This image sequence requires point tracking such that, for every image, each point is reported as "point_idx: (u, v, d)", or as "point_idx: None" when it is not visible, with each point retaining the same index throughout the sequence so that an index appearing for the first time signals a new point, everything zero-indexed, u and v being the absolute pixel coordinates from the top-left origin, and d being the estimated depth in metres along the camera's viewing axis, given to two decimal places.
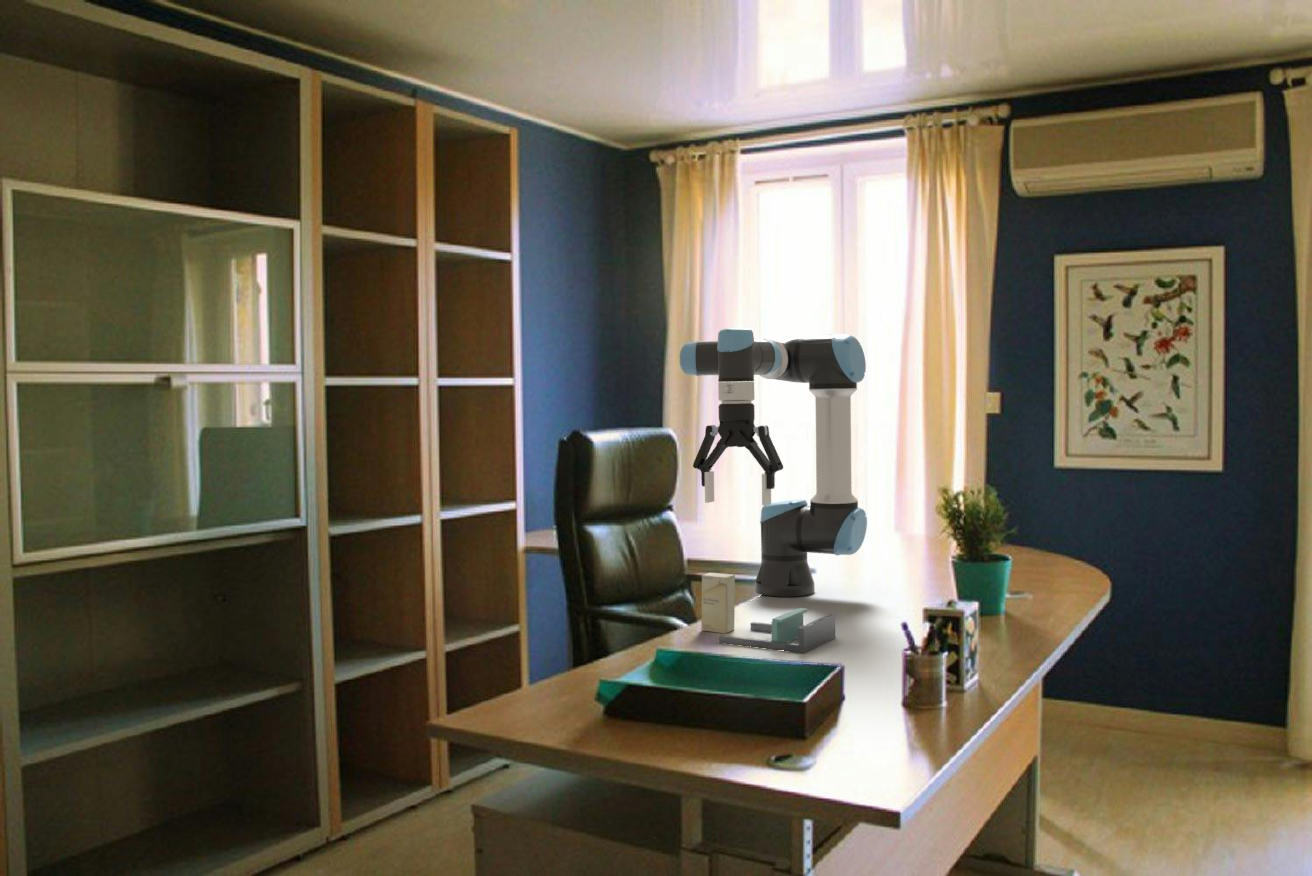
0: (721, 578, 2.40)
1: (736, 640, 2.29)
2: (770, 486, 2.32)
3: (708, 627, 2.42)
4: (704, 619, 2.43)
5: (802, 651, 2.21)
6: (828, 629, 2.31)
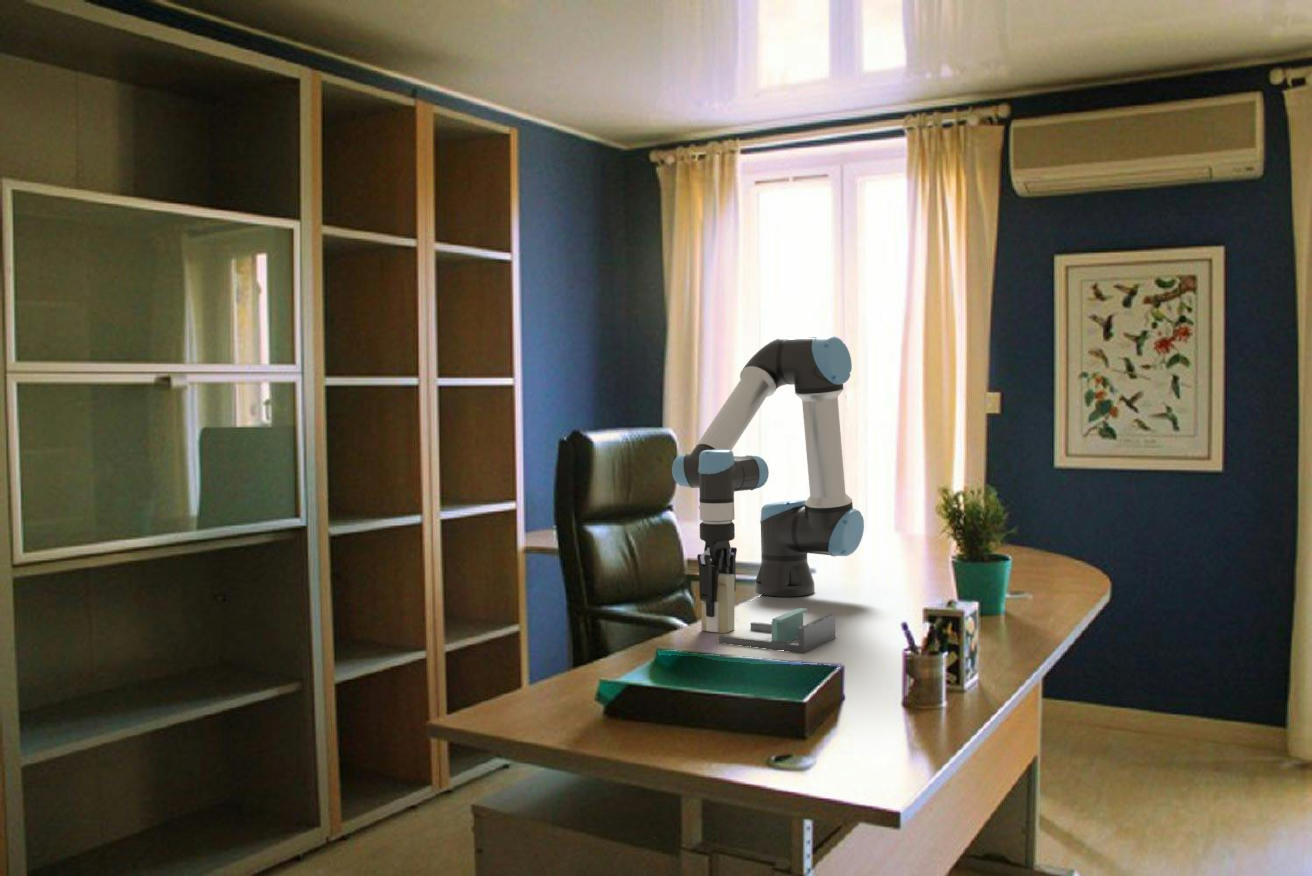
0: (721, 578, 2.40)
1: (736, 640, 2.29)
2: None
3: None
4: (704, 619, 2.43)
5: (802, 651, 2.21)
6: (828, 629, 2.31)
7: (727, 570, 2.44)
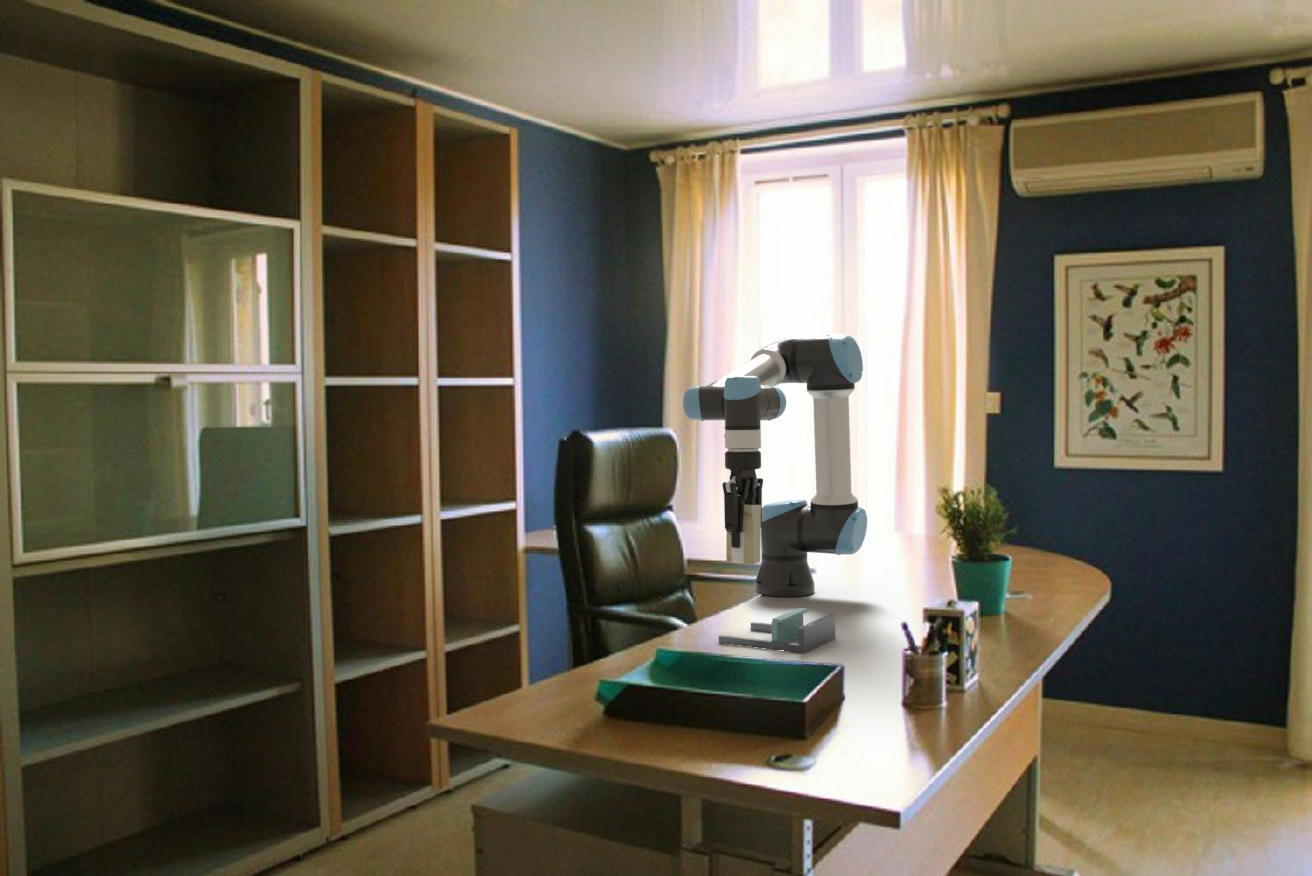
0: (747, 508, 2.33)
1: (736, 640, 2.29)
2: None
3: None
4: (729, 551, 2.35)
5: (802, 651, 2.21)
6: (828, 629, 2.31)
7: (753, 501, 2.37)
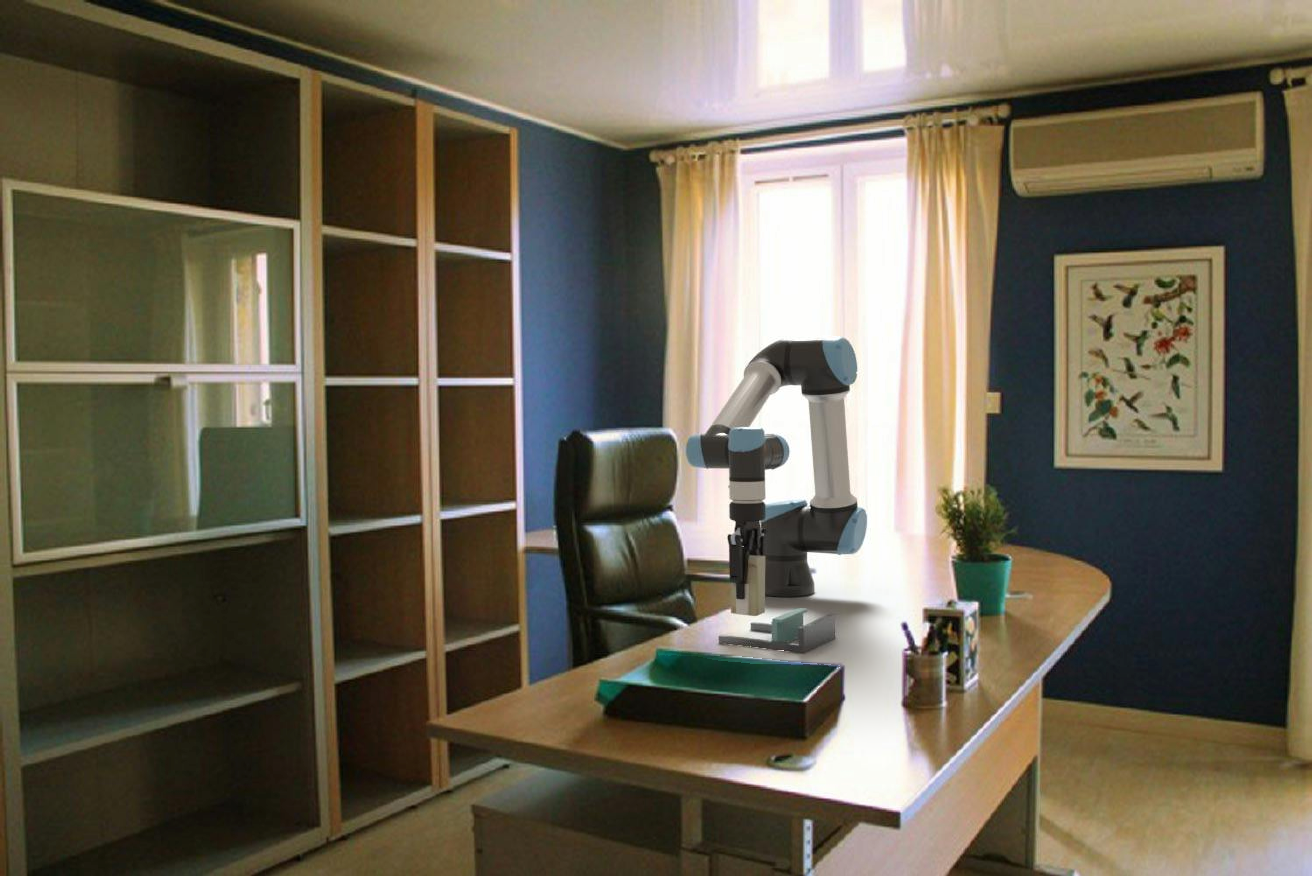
0: (751, 559, 2.32)
1: (736, 640, 2.29)
2: None
3: None
4: (734, 602, 2.35)
5: (802, 651, 2.21)
6: (828, 629, 2.31)
7: (757, 551, 2.36)
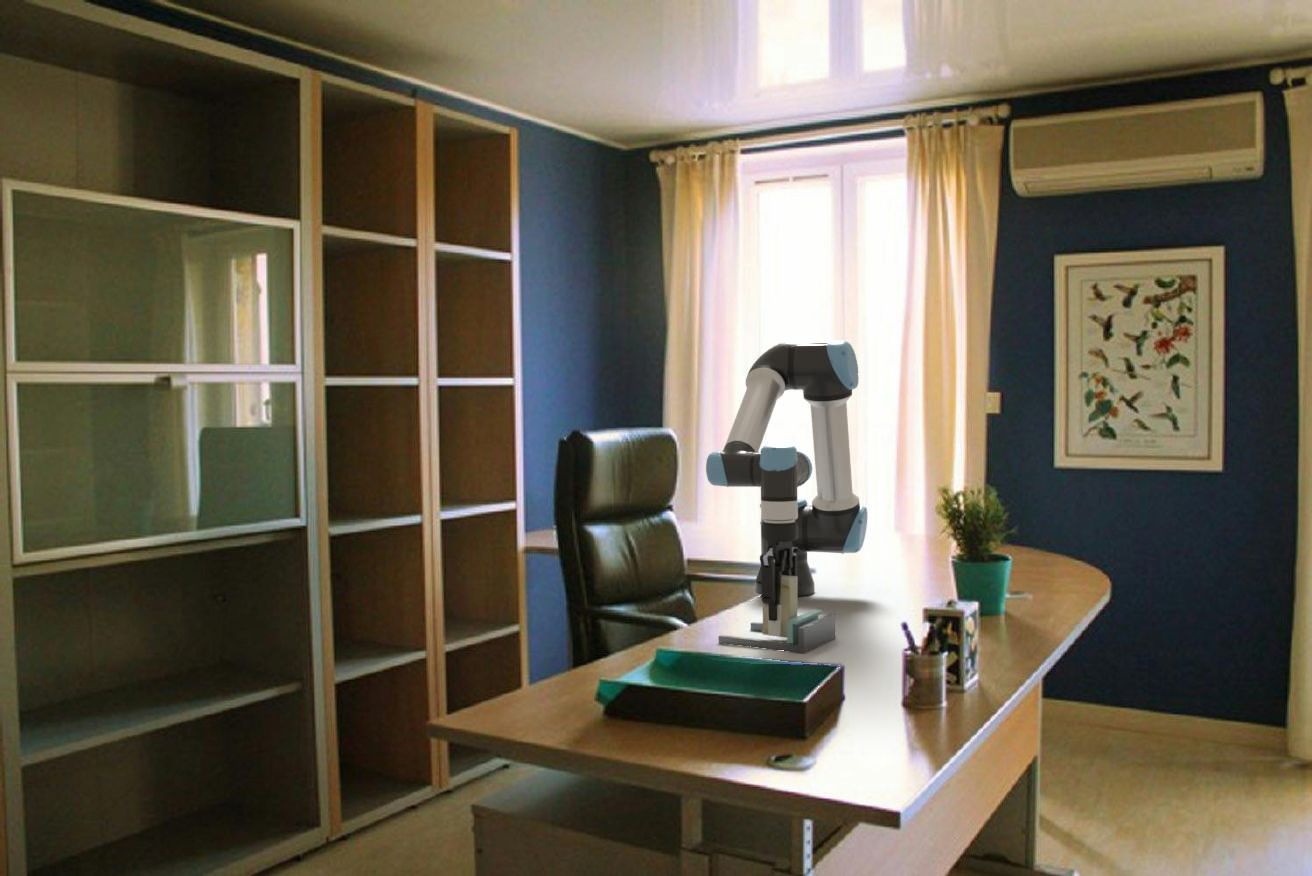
0: (784, 580, 2.29)
1: (736, 640, 2.29)
2: None
3: None
4: (766, 623, 2.31)
5: (802, 651, 2.21)
6: (828, 629, 2.31)
7: (789, 571, 2.33)
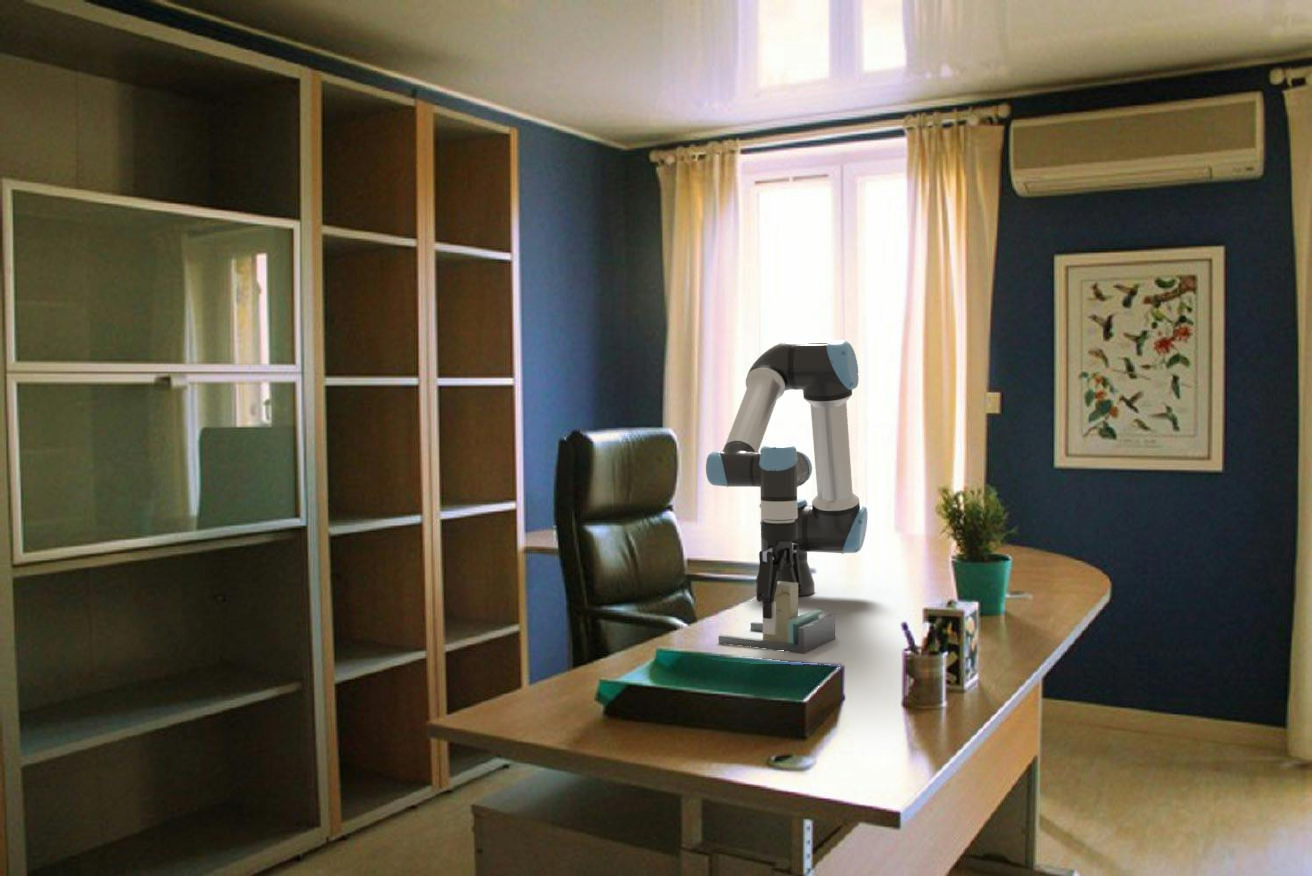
0: (784, 586, 2.29)
1: (736, 640, 2.29)
2: None
3: (771, 638, 2.31)
4: None
5: (802, 651, 2.21)
6: (828, 629, 2.31)
7: (791, 569, 2.34)
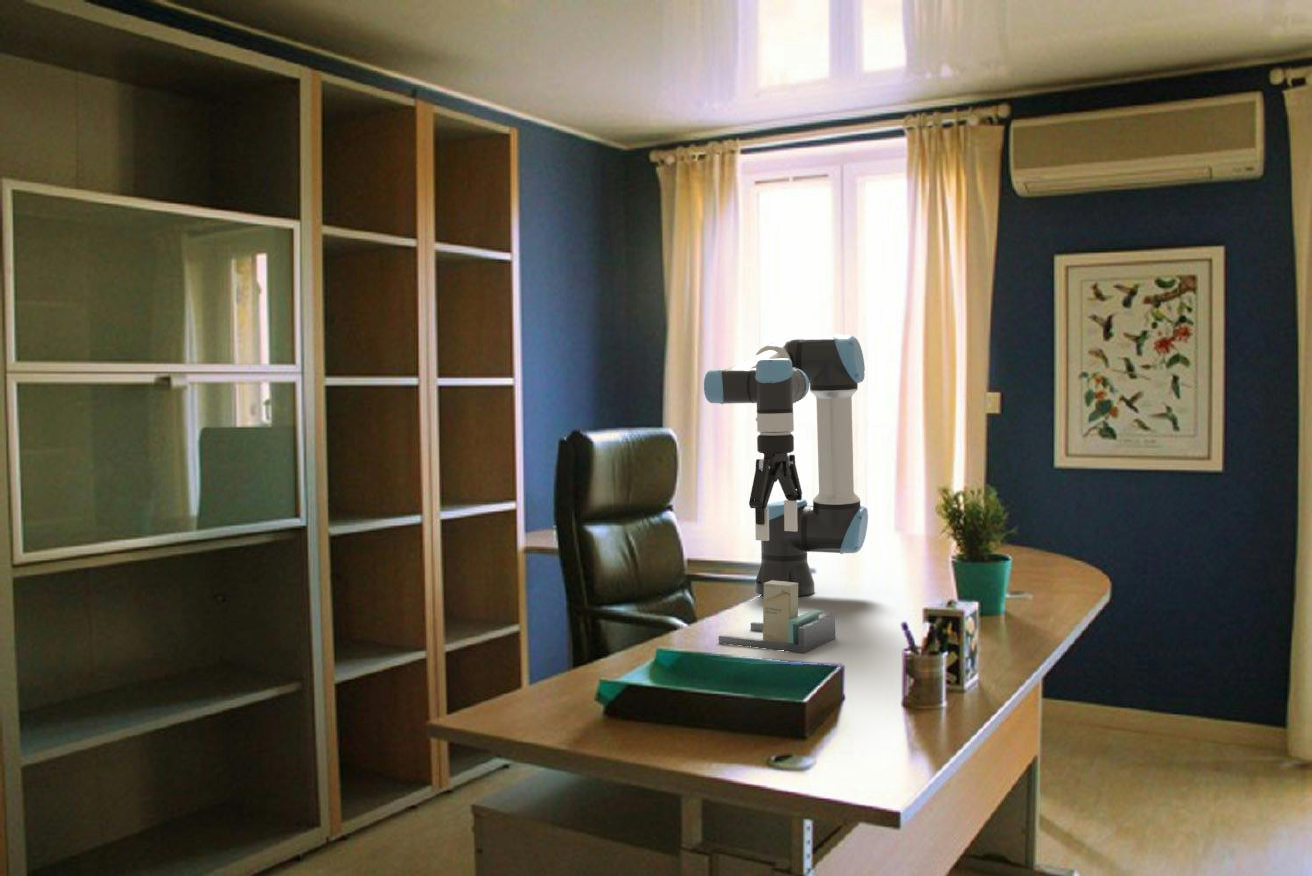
0: (784, 586, 2.29)
1: (736, 640, 2.29)
2: None
3: (770, 638, 2.31)
4: (766, 629, 2.32)
5: (802, 651, 2.21)
6: (828, 629, 2.31)
7: (789, 479, 2.36)
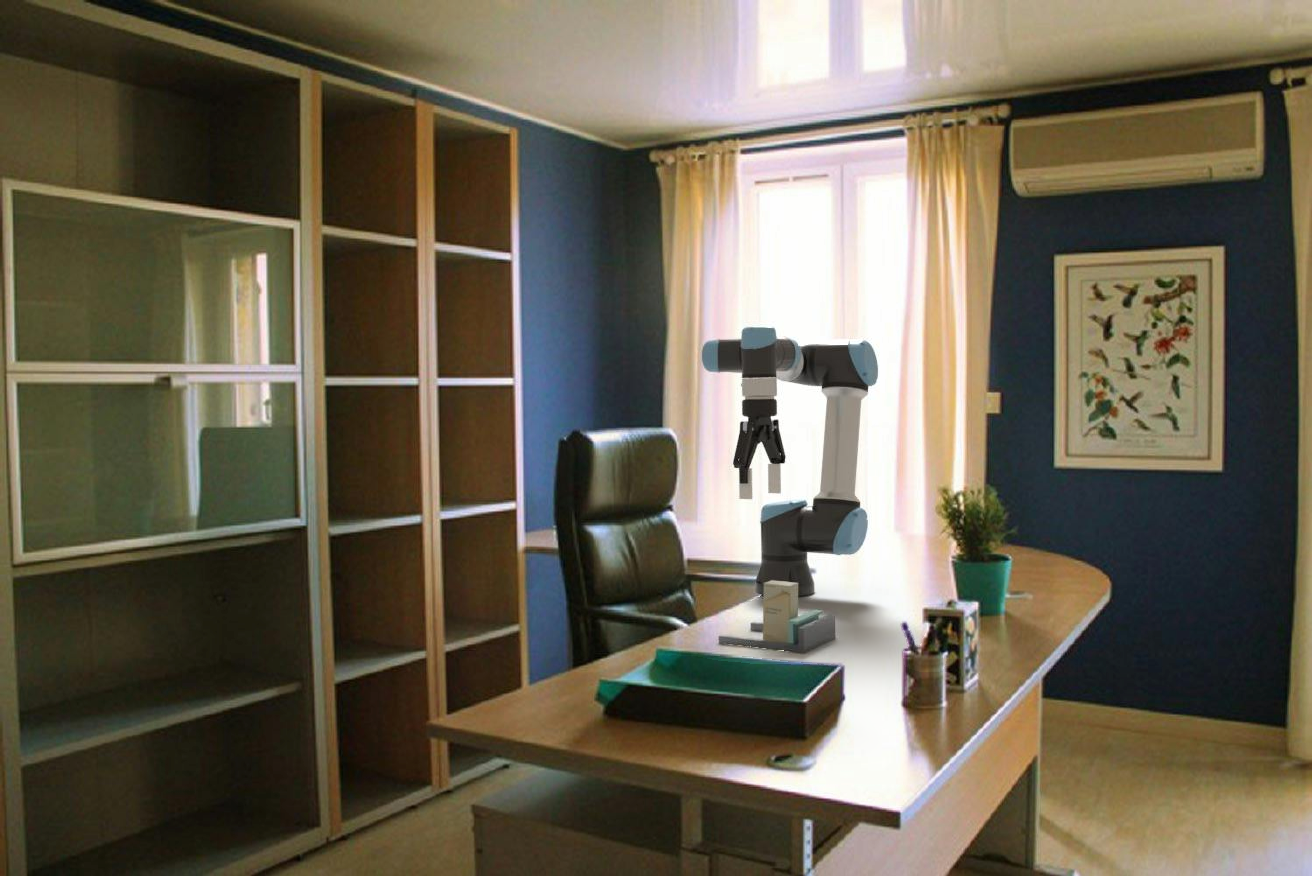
0: (784, 586, 2.29)
1: (736, 640, 2.29)
2: None
3: (771, 638, 2.31)
4: (766, 629, 2.32)
5: (802, 651, 2.21)
6: (828, 629, 2.31)
7: (773, 442, 2.47)
